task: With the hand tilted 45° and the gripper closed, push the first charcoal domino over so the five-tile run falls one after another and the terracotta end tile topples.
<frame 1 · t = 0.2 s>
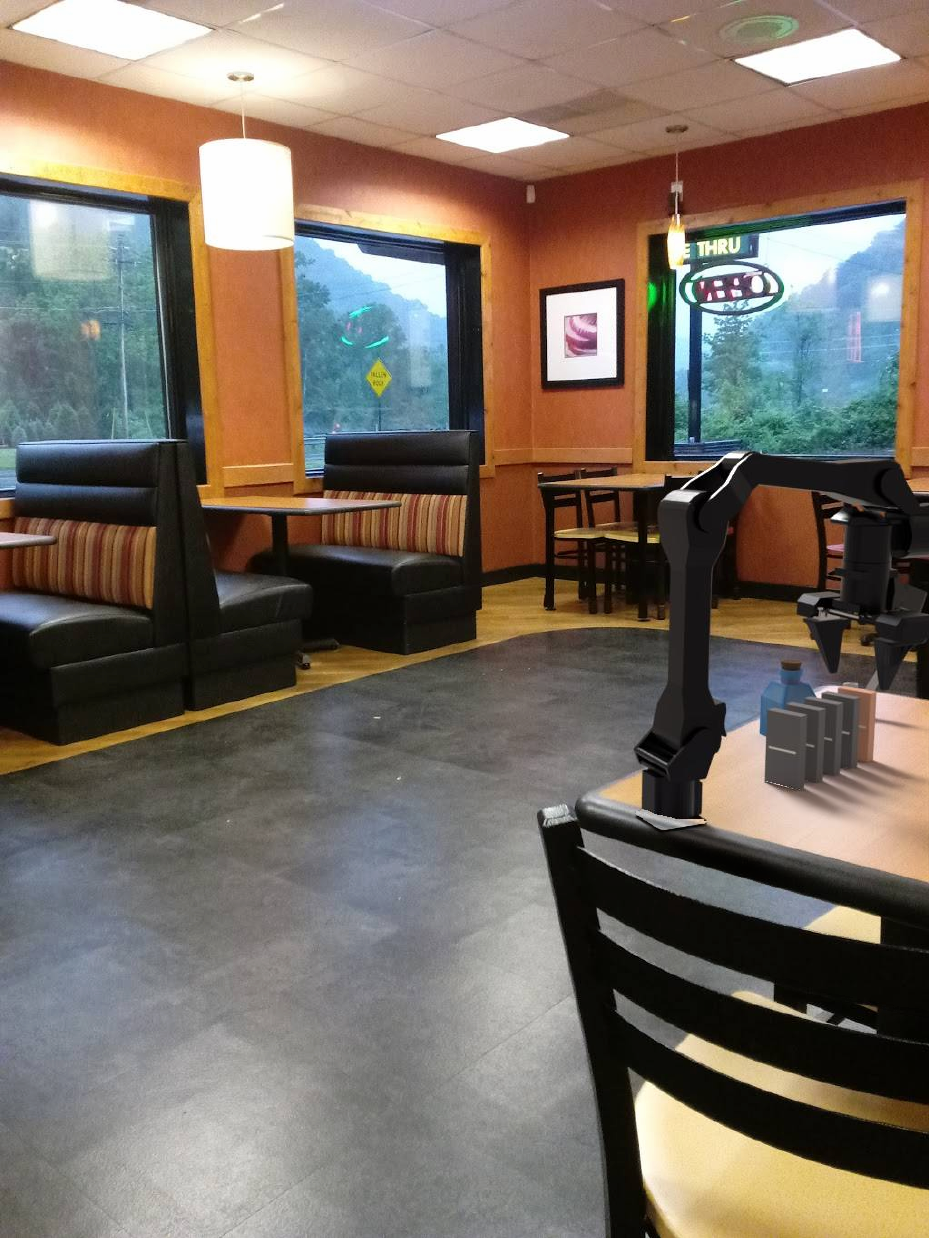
hand: (858, 681, 136), 15 cm above the table, tool pointing down, fingers open, 9 cm apart
domino 5: (853, 757, 153), on the table
domino 4: (837, 763, 150), on the table
domino 3: (820, 770, 147), on the table
lighter: (859, 716, 176), on the table
perfume bottle: (788, 738, 164), on the table
domino 1: (784, 784, 141), on the table
domino 2: (802, 777, 144), on the table
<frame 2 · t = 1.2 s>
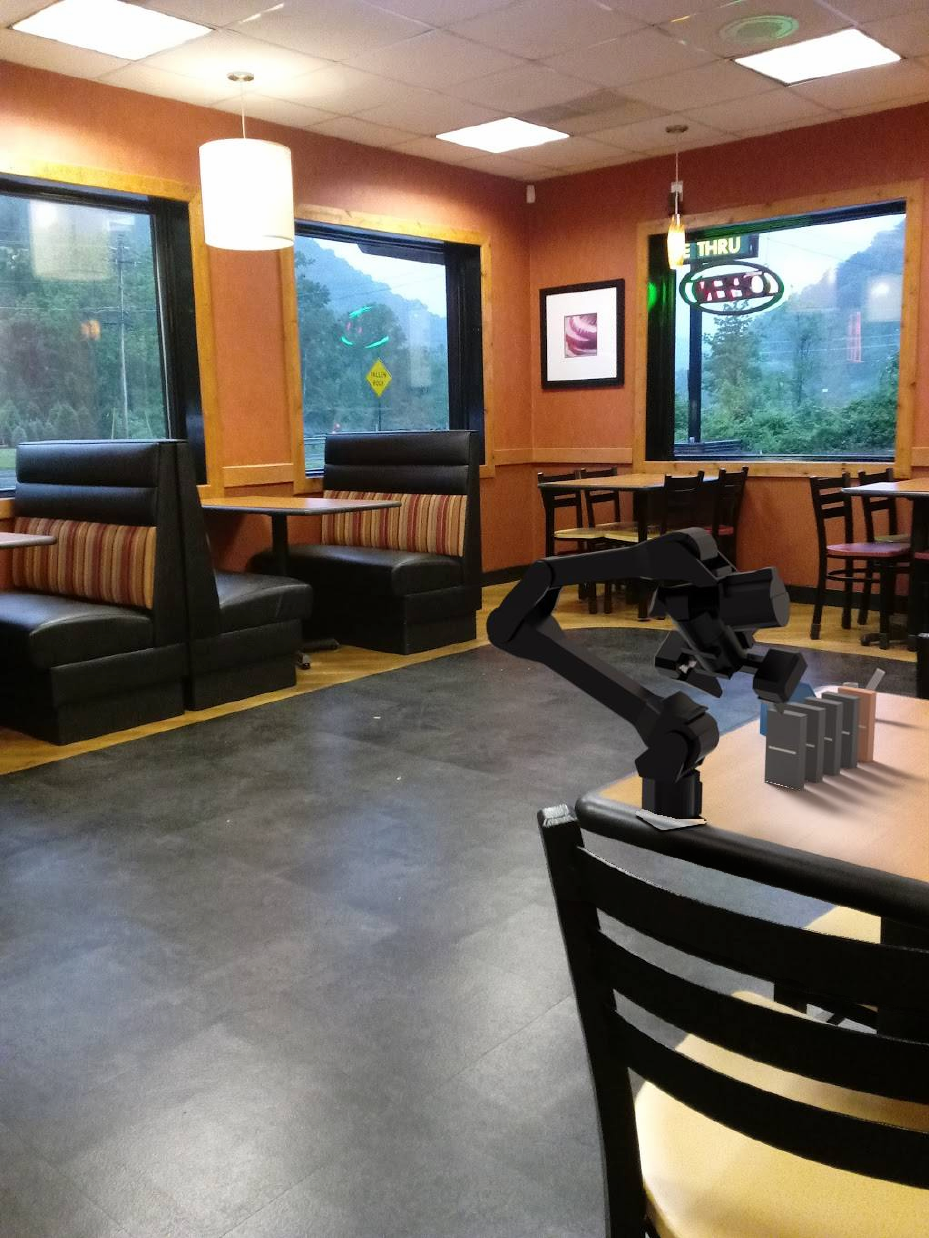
hand: (750, 702, 134), 13 cm above the table, tool tilted 45°, fingers open, 9 cm apart
nothing on the table moved.
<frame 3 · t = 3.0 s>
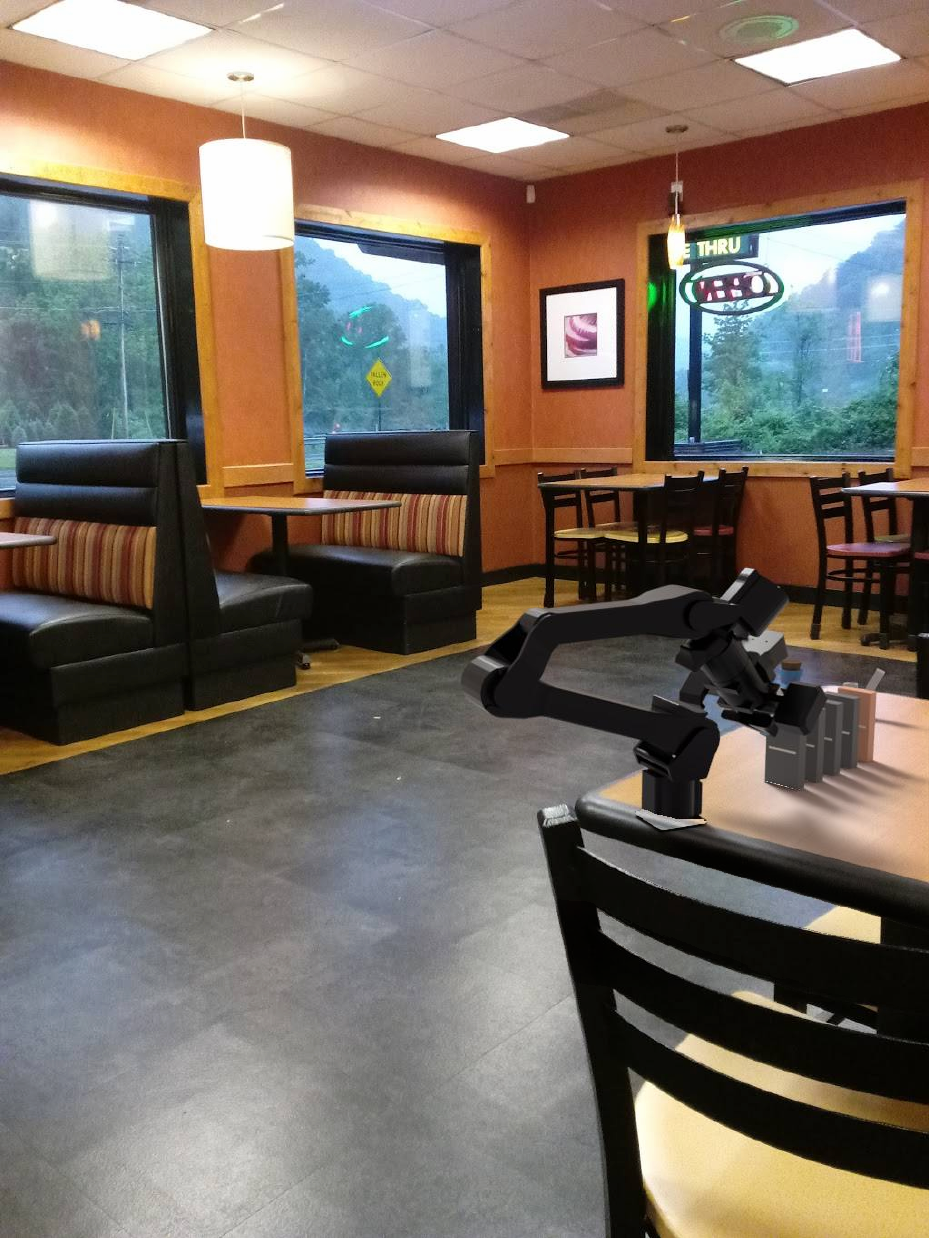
hand: (774, 733, 138), 8 cm above the table, tool tilted 45°, fingers closed
nothing on the table moved.
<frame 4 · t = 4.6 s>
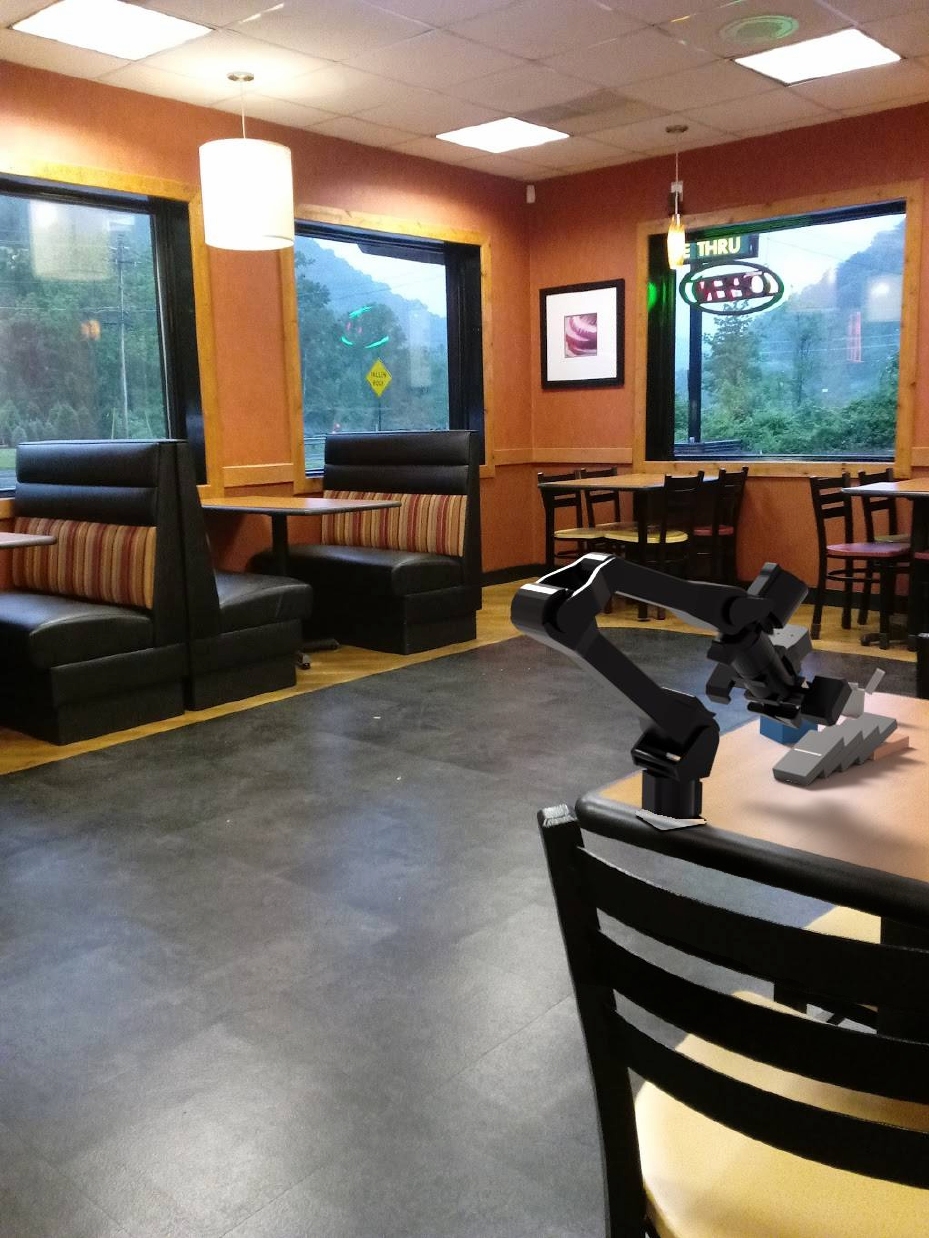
hand: (798, 725, 142), 8 cm above the table, tool tilted 45°, fingers closed
domino 5: (857, 751, 154), point 1 cm above the table, tilted 89°, touching domino 4
domino 4: (843, 755, 151), point 1 cm above the table, tilted 69°, touching domino 3, domino 5
domino 3: (825, 763, 148), point 1 cm above the table, tilted 69°, touching domino 2, domino 4
domino 1: (789, 777, 142), point 1 cm above the table, tilted 69°, touching domino 2
domino 2: (808, 769, 145), point 1 cm above the table, tilted 69°, touching domino 1, domino 3
everything else where it was.
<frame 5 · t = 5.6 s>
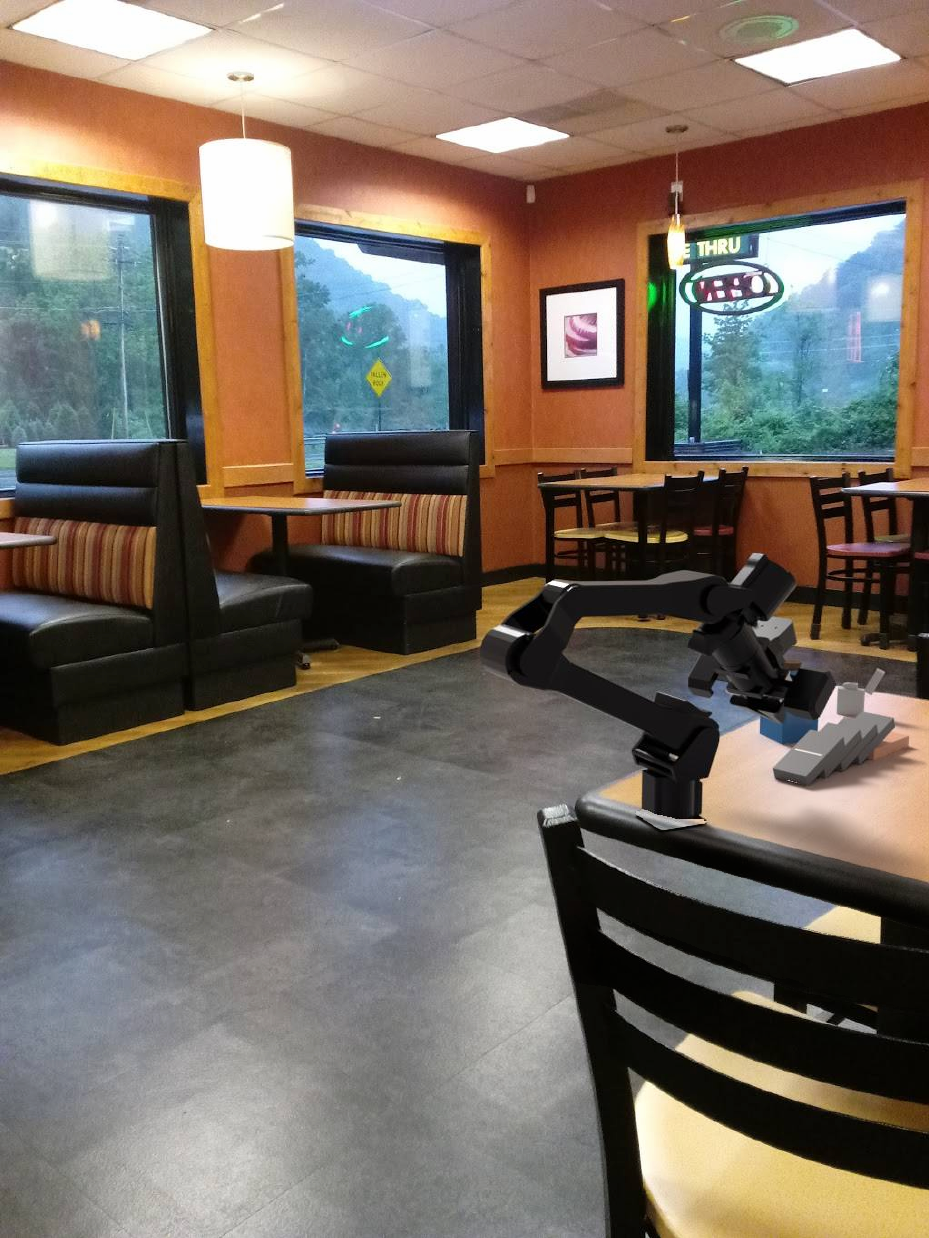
hand: (781, 720, 139), 9 cm above the table, tool tilted 45°, fingers closed
domino 5: (857, 750, 154), point 1 cm above the table, tilted 89°
domino 4: (843, 755, 151), point 1 cm above the table, tilted 68°
domino 3: (825, 762, 148), point 1 cm above the table, tilted 68°, touching domino 2
domino 2: (808, 769, 145), point 1 cm above the table, tilted 68°, touching domino 1, domino 3
everything else where it was.
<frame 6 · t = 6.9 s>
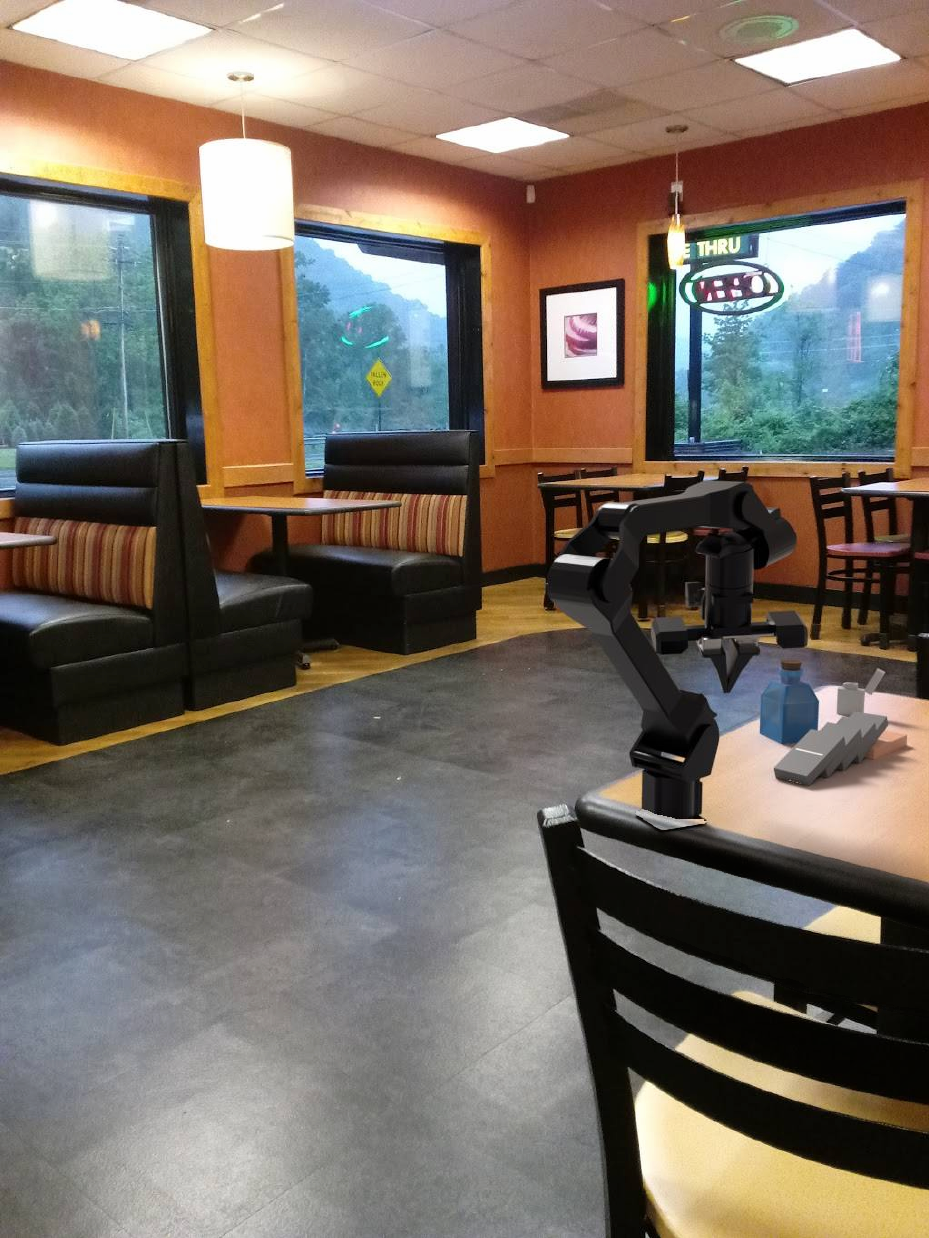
hand: (726, 691, 138), 13 cm above the table, tool pointing down, fingers closed
domino 5: (857, 750, 154), point 1 cm above the table, tilted 89°, touching domino 4
domino 4: (841, 755, 151), point 1 cm above the table, tilted 69°, touching domino 3, domino 5
domino 3: (826, 762, 148), point 1 cm above the table, tilted 68°, touching domino 2, domino 4
domino 1: (790, 776, 142), point 1 cm above the table, tilted 69°
domino 2: (809, 769, 145), point 1 cm above the table, tilted 68°, touching domino 3
everything else where it was.
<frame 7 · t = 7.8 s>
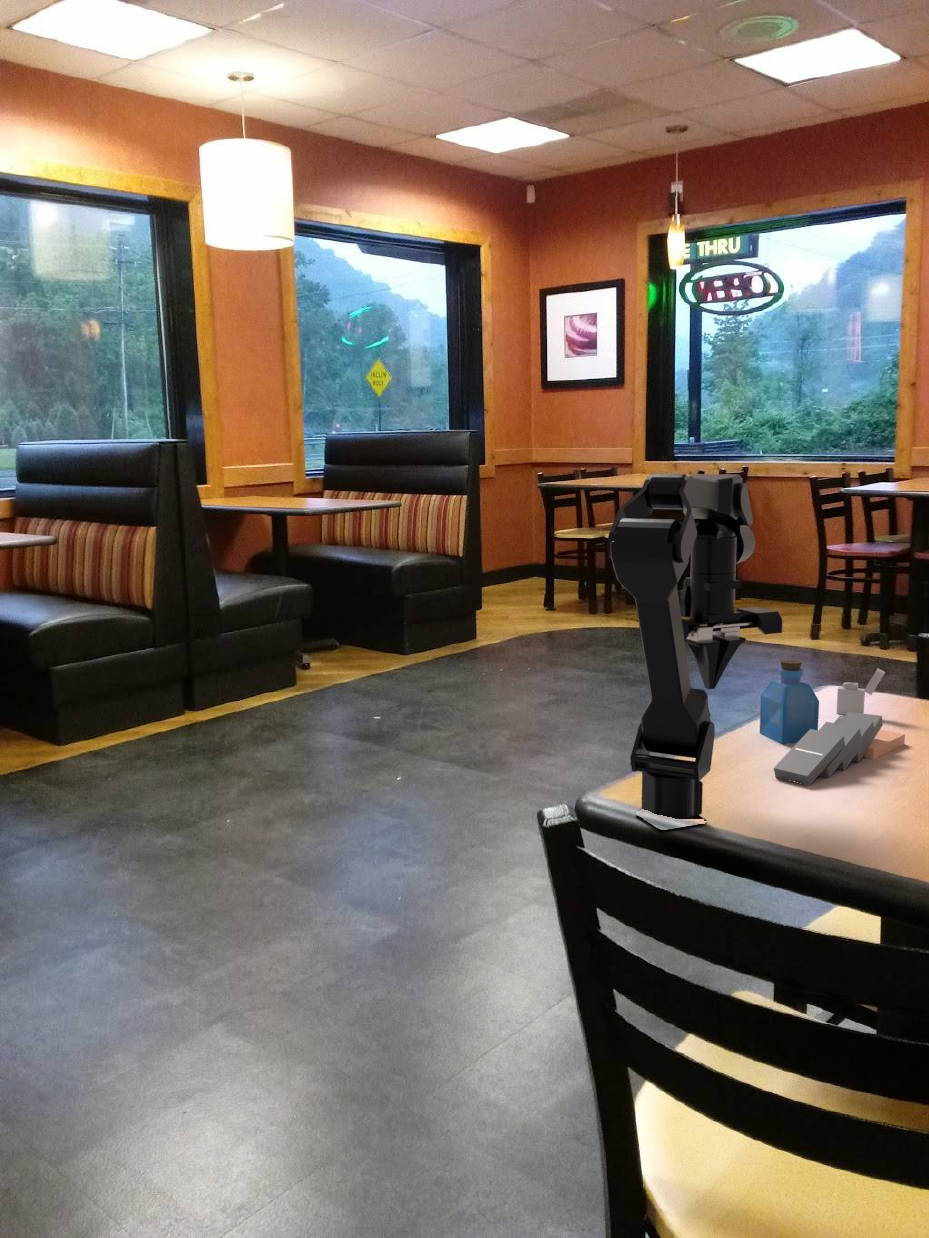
hand: (709, 688, 140), 13 cm above the table, tool pointing down, fingers closed
domino 1: (791, 776, 142), point 1 cm above the table, tilted 69°, touching domino 2
domino 2: (810, 769, 145), point 1 cm above the table, tilted 68°, touching domino 1, domino 3
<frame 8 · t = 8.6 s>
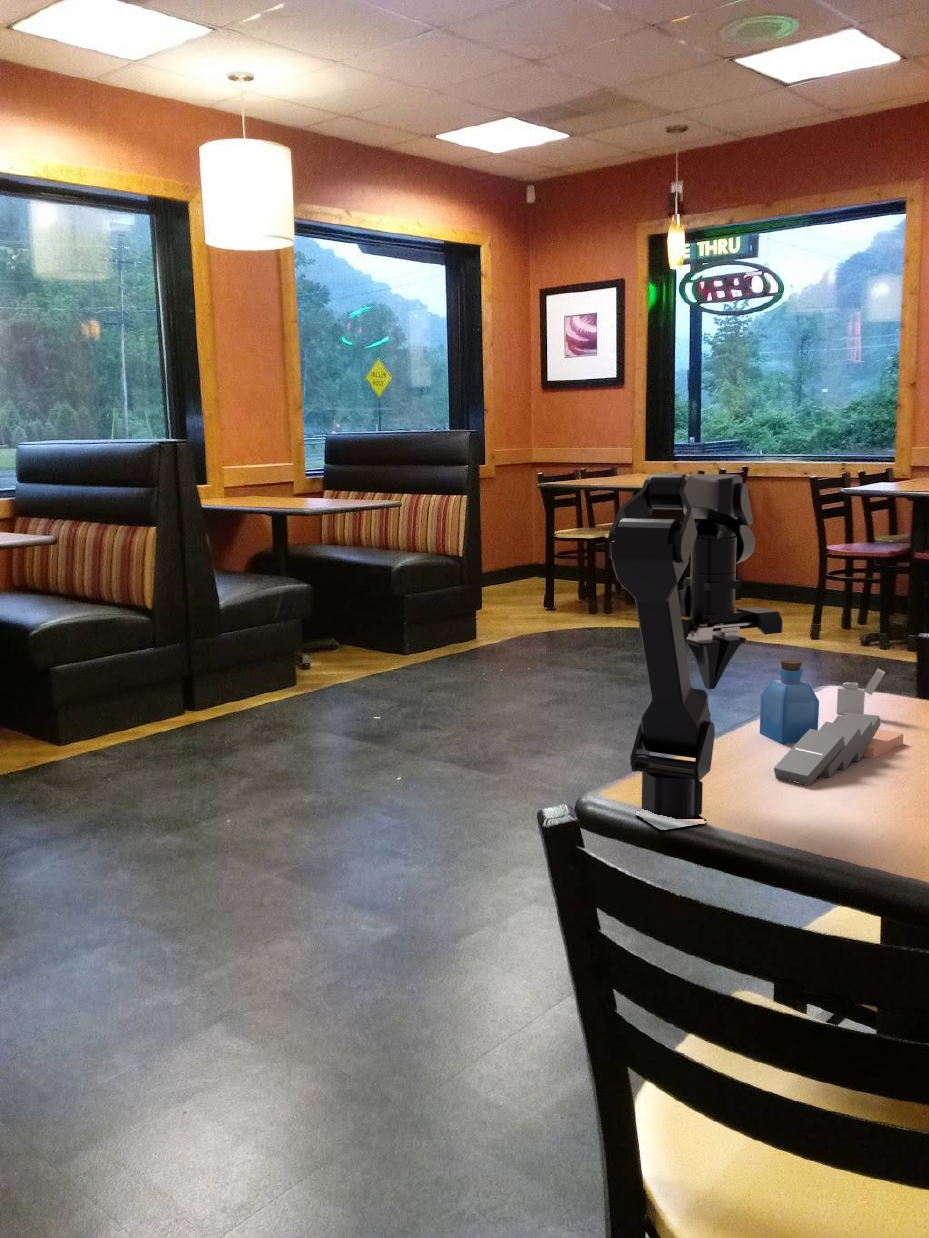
hand: (709, 688, 140), 13 cm above the table, tool pointing down, fingers closed
domino 3: (826, 761, 148), point 1 cm above the table, tilted 68°, touching domino 2, domino 4
everything else where it was.
at the end: domino 1 tilted 69°; domino 5 tilted 89° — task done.
